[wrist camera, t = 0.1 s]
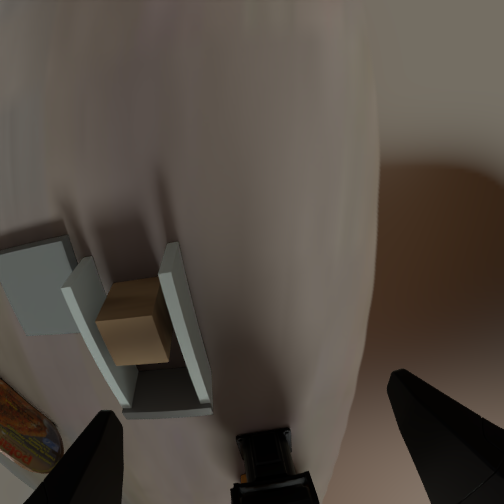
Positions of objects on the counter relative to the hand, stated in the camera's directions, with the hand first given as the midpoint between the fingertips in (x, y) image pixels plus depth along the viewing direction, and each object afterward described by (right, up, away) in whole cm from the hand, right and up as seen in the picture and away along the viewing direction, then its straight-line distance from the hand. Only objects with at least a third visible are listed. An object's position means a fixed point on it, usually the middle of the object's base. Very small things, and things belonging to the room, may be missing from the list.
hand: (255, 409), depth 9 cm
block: (-8, +1, +15) cm, 17 cm away
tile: (-17, +2, +13) cm, 22 cm away
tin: (-29, -15, +19) cm, 38 cm away
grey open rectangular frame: (-8, -1, +15) cm, 18 cm away
